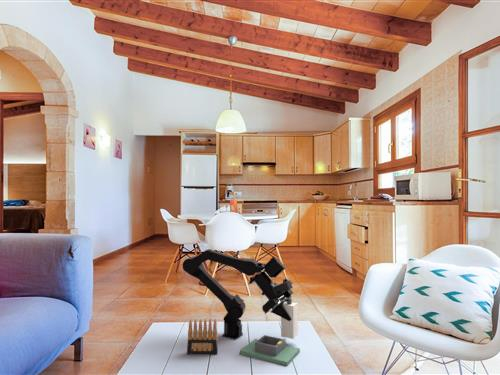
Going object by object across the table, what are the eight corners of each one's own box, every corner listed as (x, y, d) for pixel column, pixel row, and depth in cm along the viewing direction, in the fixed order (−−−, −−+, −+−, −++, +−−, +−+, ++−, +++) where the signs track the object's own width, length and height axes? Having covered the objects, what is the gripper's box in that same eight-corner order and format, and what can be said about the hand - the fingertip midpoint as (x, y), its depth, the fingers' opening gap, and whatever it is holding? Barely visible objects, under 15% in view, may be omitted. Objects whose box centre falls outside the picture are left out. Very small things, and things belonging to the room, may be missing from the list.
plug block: (281, 336, 125) (281, 298, 126) (285, 332, 129) (285, 296, 130) (293, 338, 123) (293, 300, 124) (297, 334, 127) (297, 297, 128)
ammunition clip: (217, 352, 118) (217, 318, 119) (217, 354, 116) (217, 320, 117) (187, 352, 118) (188, 318, 119) (186, 354, 116) (187, 319, 117)
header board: (239, 354, 117) (240, 341, 117) (255, 341, 127) (255, 330, 127) (287, 365, 108) (287, 352, 108) (299, 351, 119) (299, 339, 119)
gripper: (270, 277, 121) (298, 312, 115) (288, 268, 137) (314, 299, 132) (251, 296, 124) (277, 331, 118) (271, 285, 141) (295, 316, 135)
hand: (292, 318), depth 126 cm, fingers closed on plug block, 4 cm apart
